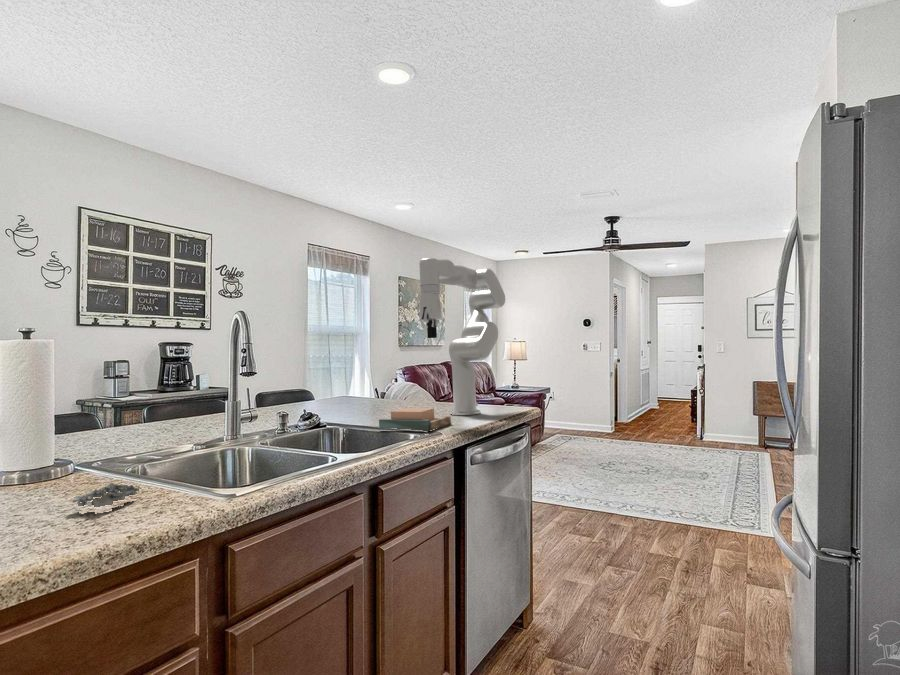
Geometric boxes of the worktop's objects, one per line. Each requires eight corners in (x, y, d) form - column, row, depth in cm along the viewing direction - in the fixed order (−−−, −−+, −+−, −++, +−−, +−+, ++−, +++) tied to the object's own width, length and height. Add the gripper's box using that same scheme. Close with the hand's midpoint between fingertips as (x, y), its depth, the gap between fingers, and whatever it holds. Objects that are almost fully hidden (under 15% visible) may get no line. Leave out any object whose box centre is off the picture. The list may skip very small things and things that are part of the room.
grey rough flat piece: (102, 516, 102) (102, 494, 102) (68, 516, 103) (67, 494, 103) (144, 499, 112) (143, 480, 112) (112, 499, 113) (112, 479, 113)
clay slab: (405, 418, 200) (404, 408, 200) (434, 419, 195) (433, 408, 195) (391, 422, 191) (390, 411, 191) (421, 423, 186) (420, 411, 186)
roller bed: (405, 423, 207) (405, 412, 207) (451, 424, 199) (450, 413, 199) (378, 431, 190) (378, 419, 190) (427, 432, 182) (427, 420, 182)
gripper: (430, 292, 218) (432, 338, 218) (412, 289, 205) (414, 338, 204) (447, 291, 215) (449, 337, 215) (430, 288, 202) (432, 337, 201)
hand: (432, 337), depth 210 cm, fingers closed
